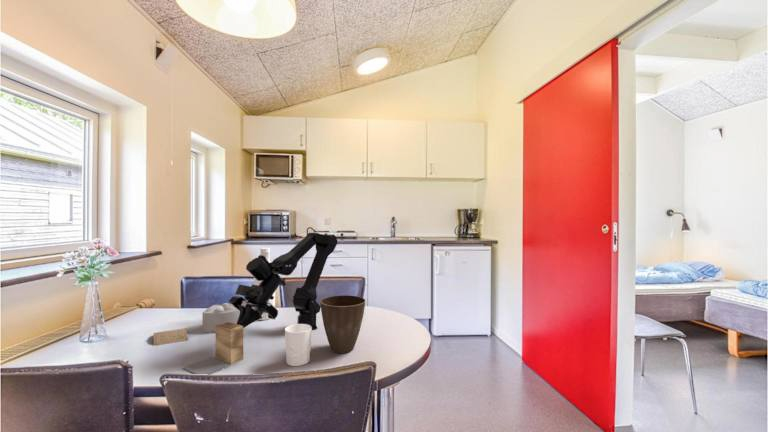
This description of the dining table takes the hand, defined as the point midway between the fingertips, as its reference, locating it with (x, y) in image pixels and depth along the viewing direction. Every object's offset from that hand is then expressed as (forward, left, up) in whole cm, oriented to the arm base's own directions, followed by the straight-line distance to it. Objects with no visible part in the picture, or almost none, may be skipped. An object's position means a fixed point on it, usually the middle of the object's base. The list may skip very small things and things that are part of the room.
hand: (236, 330), depth 99 cm
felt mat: (+8, +5, -8) cm, 12 cm away
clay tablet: (+22, -26, -9) cm, 35 cm away
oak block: (+2, +1, -8) cm, 8 cm away
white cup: (-17, +11, -8) cm, 22 cm away
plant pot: (-32, +7, -8) cm, 34 cm away
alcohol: (-10, -38, -8) cm, 40 cm away
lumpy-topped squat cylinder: (+5, -31, -8) cm, 32 cm away
